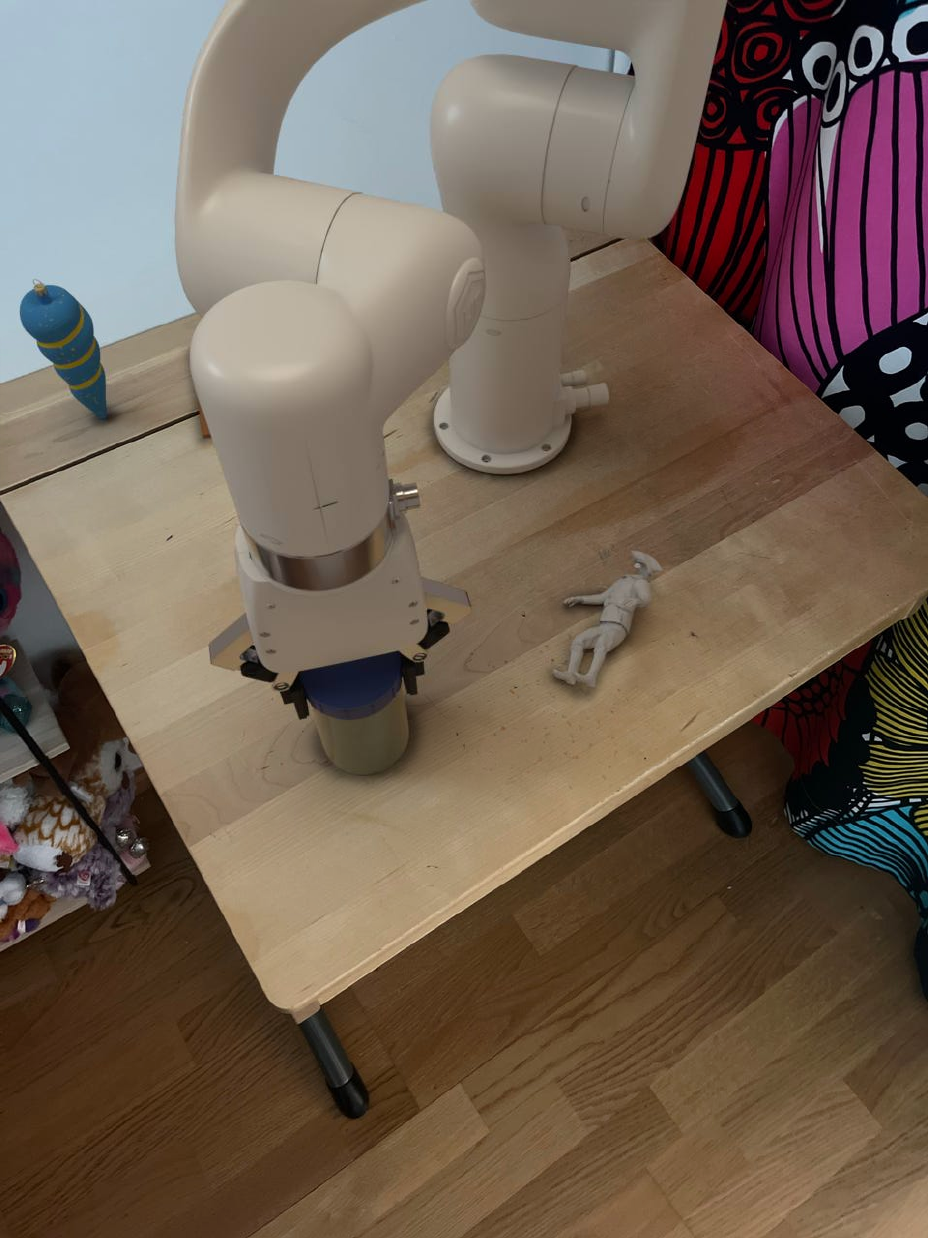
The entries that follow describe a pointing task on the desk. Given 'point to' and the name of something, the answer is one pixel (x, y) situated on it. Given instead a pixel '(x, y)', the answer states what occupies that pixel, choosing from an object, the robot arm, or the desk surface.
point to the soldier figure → (610, 619)
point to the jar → (365, 738)
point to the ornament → (67, 342)
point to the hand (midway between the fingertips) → (354, 687)
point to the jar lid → (354, 686)
